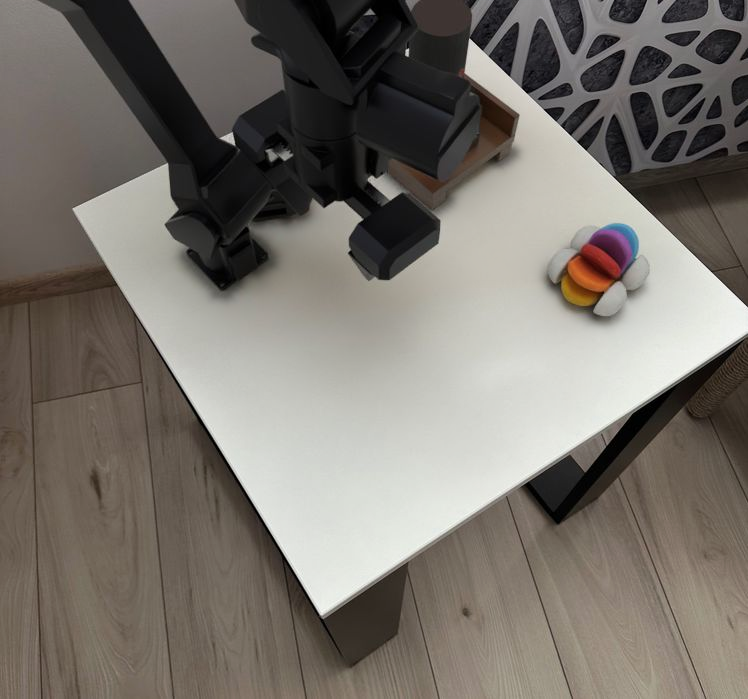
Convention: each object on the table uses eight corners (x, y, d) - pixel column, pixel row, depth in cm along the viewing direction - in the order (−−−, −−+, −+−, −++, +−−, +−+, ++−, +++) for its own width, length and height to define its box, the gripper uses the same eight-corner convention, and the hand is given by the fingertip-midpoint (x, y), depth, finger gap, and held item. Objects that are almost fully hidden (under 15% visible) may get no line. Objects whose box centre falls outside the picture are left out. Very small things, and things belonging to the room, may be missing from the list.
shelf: (348, 140, 90) (347, 101, 85) (428, 88, 94) (431, 48, 89) (430, 211, 85) (434, 175, 80) (511, 152, 90) (520, 114, 84)
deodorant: (460, 114, 88) (477, 0, 75) (451, 152, 86) (466, 40, 72) (410, 105, 89) (417, -10, 76) (399, 143, 86) (404, 30, 73)
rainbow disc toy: (533, 285, 81) (547, 244, 74) (587, 231, 84) (605, 187, 78) (599, 333, 78) (620, 295, 72) (652, 275, 81) (676, 233, 75)
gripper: (505, 128, 53) (477, 259, 67) (330, -7, 59) (337, 138, 73) (385, 214, 49) (382, 334, 63) (213, 60, 56) (244, 199, 70)
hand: (337, 244), depth 67 cm, fingers open, 9 cm apart
